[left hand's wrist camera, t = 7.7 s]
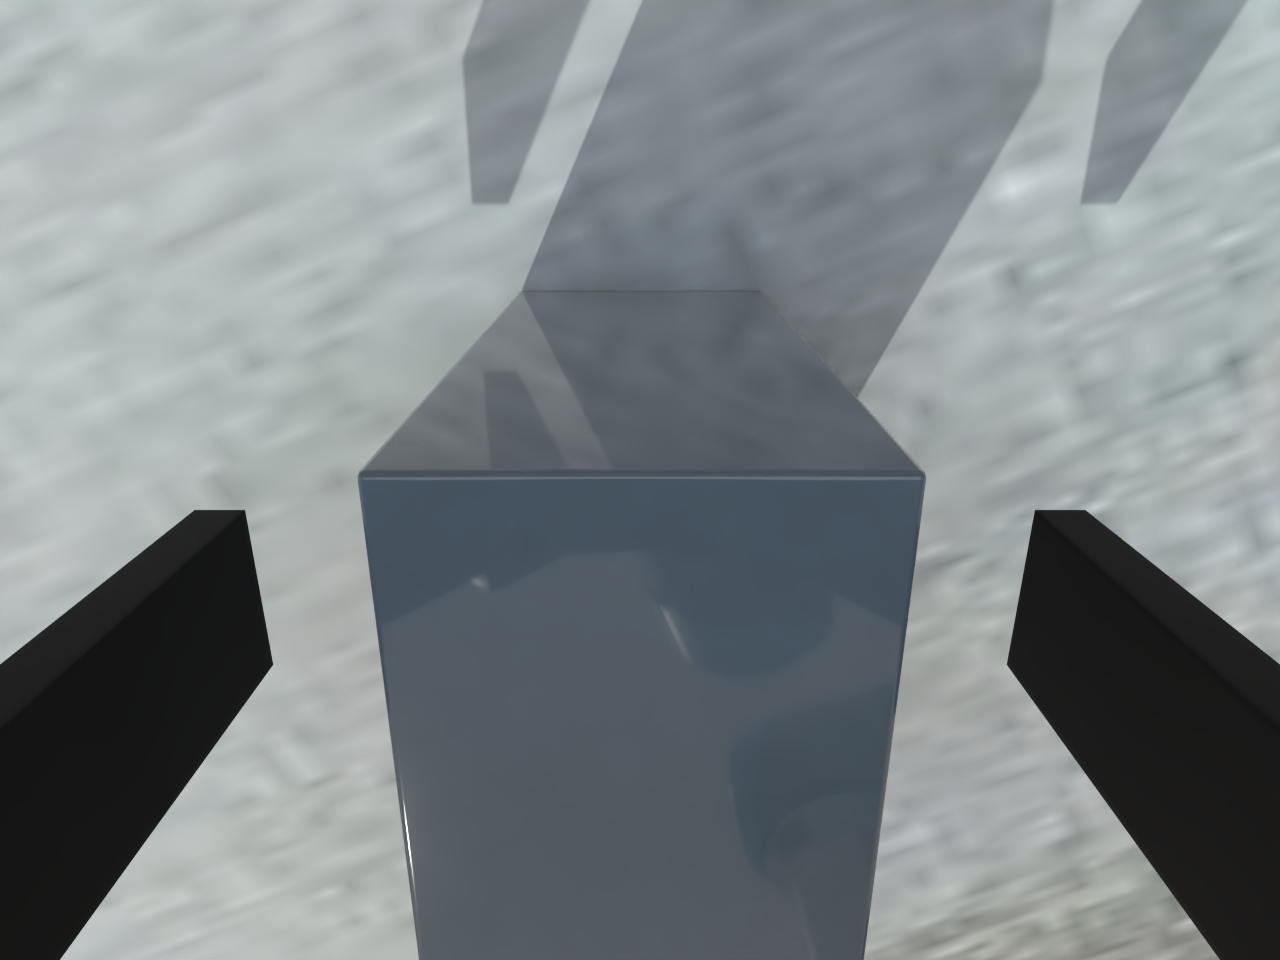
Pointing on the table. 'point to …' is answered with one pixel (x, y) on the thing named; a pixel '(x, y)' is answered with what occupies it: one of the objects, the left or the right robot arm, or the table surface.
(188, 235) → the table surface
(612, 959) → the brick
